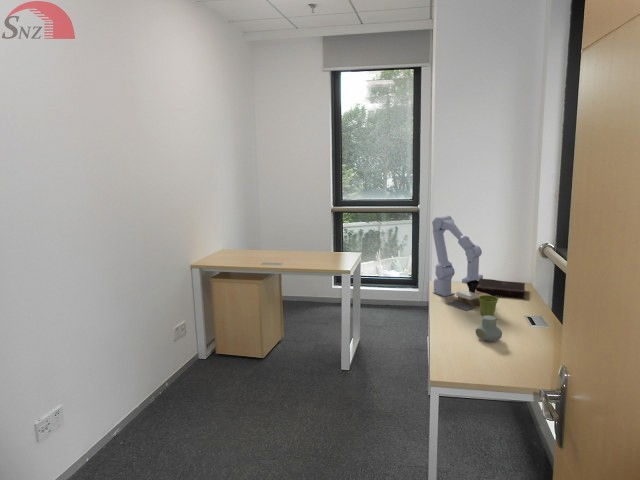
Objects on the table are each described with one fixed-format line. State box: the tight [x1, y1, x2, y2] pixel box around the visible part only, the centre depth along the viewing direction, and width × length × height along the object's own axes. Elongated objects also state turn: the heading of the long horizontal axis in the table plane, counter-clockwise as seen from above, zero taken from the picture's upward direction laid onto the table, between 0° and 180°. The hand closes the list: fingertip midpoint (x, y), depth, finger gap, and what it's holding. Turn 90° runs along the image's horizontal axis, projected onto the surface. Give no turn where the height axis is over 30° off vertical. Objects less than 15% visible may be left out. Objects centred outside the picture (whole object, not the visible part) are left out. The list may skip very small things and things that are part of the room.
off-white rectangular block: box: [455, 289, 478, 300], centre depth 250 cm, size 9×6×2 cm, turn 34°
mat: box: [445, 299, 478, 312], centre depth 248 cm, size 14×8×1 cm, turn 33°
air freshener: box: [475, 315, 503, 343], centre depth 205 cm, size 11×8×10 cm
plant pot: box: [478, 295, 499, 317], centre depth 233 cm, size 9×9×9 cm
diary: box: [476, 278, 526, 300], centre depth 269 cm, size 19×25×5 cm
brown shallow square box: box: [457, 290, 491, 308], centre depth 254 cm, size 12×12×4 cm
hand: (472, 293), depth 252 cm, fingers closed
